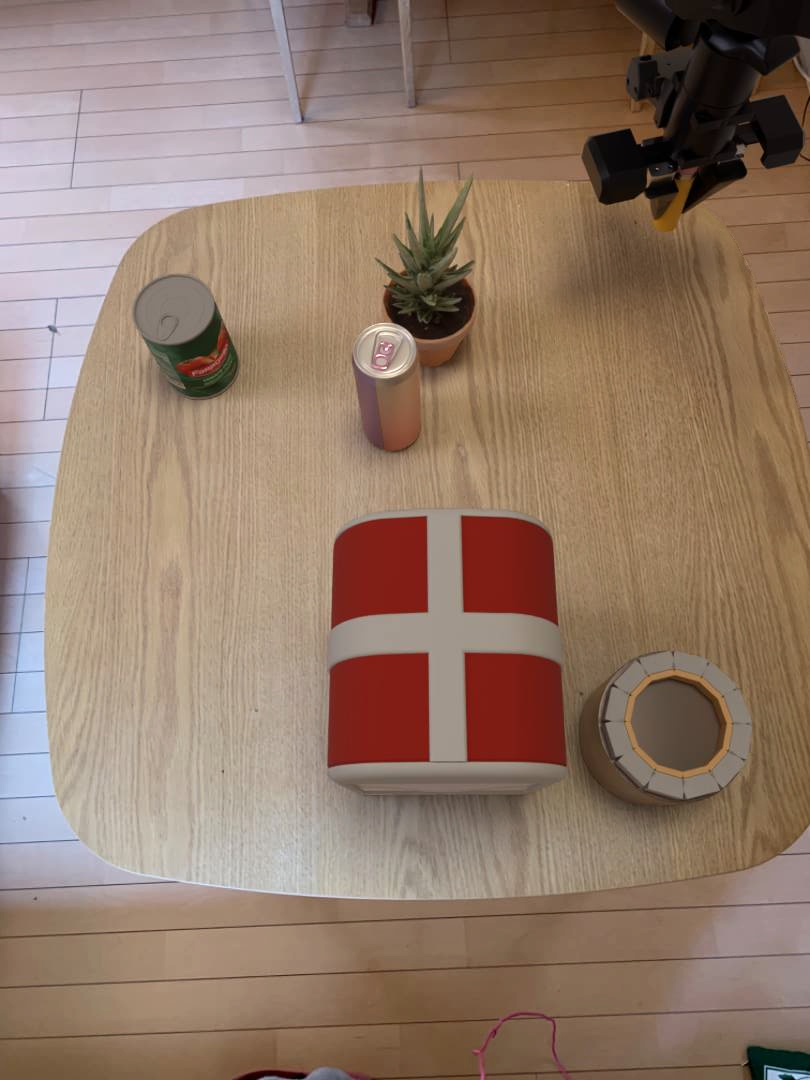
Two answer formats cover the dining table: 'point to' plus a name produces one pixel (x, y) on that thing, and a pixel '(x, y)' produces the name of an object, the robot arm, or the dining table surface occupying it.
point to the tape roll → (726, 705)
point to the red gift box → (445, 655)
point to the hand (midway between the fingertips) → (667, 213)
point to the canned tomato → (186, 335)
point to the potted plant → (431, 285)
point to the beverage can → (388, 385)
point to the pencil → (677, 200)
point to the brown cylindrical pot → (652, 735)
